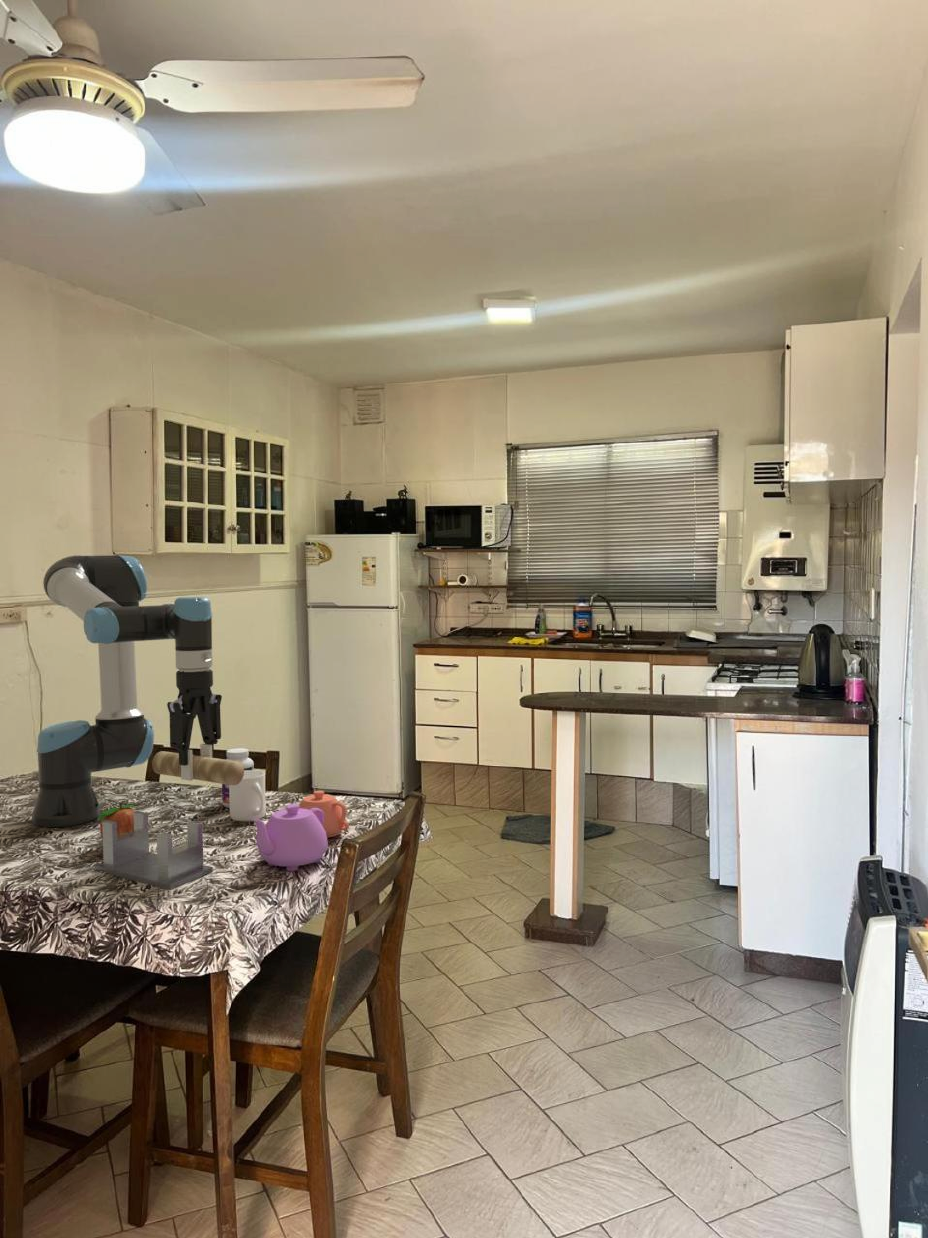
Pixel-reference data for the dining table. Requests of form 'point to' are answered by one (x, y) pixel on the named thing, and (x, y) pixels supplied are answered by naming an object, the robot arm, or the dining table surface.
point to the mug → (248, 797)
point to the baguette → (200, 768)
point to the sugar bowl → (328, 811)
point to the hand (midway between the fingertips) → (197, 776)
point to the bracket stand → (152, 855)
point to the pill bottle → (247, 763)
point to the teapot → (292, 837)
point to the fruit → (119, 819)
